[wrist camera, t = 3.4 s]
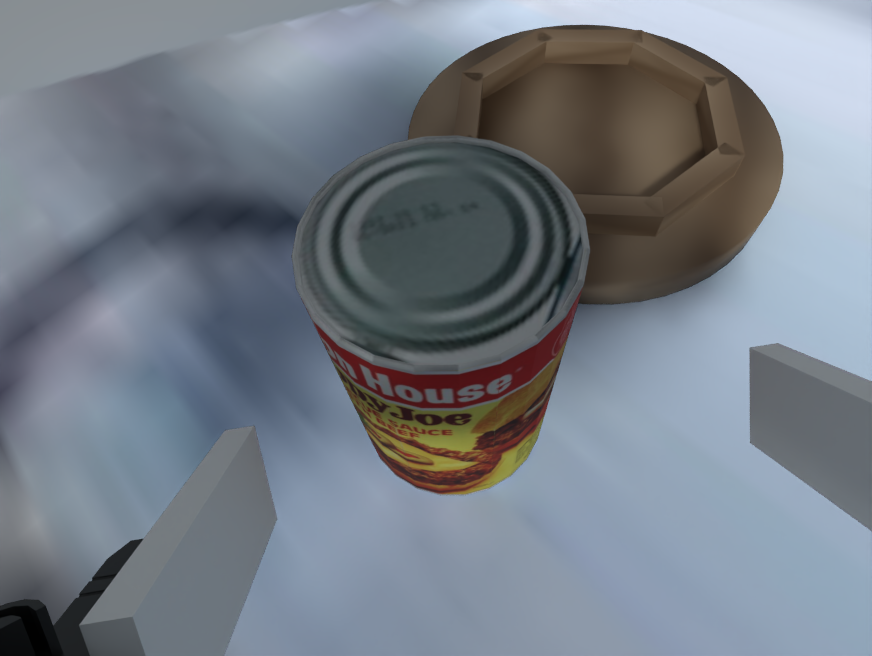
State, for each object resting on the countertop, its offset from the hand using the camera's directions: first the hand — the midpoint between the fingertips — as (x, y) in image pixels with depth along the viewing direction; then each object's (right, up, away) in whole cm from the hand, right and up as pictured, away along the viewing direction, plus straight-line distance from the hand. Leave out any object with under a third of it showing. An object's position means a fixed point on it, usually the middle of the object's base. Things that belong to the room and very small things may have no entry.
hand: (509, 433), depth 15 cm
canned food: (-1, -1, +11) cm, 11 cm away
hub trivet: (+7, +13, +18) cm, 23 cm away
